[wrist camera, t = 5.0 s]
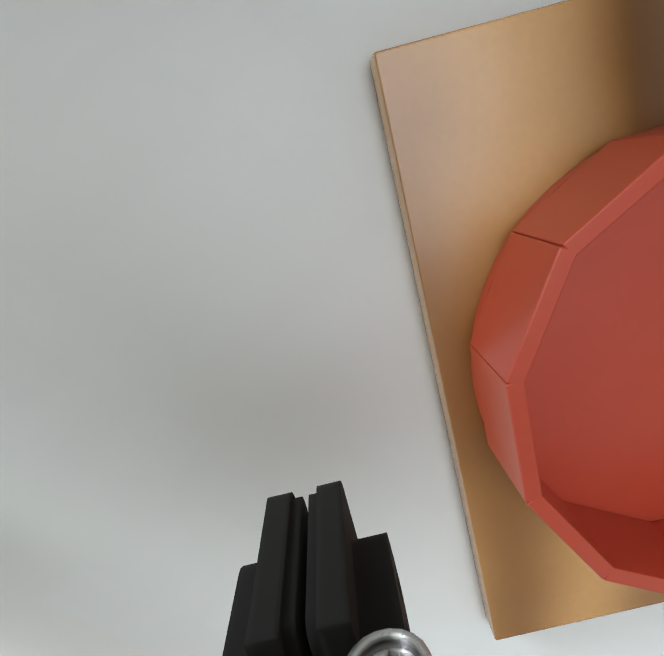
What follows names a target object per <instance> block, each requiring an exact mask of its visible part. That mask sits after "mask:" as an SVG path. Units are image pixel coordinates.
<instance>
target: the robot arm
mask: <svg viewBox="0 0 664 656" xmlns="http://www.w3.org/2000/svg"><path fill="white" fill-rule="evenodd" d="M222 656H431V653H430V651H429V649H428V648H427V646H426V645H425V643H424V642H423V640H422V639H420V638H419V637H418V636H416V635H415V634H414V633H411V632H410V628H409V623H408V618H407V614H406V609H405V604H404V599H403V595H402V590H401V586H400V582H399V577H398V573H397V569H396V565H395V561H394V557H393V554H392V550H391V546H390V542H389V539H388V535H387V533H383V534H378V535H374V536H370V537H366V538H361V539H357V535H356V532H355V528H354V524H353V521H352V517H351V514H350V510H349V506H348V503H347V499H346V496H345V492H344V489H343V485H342V483H341V481H337V482H333V483H329V484H324V485H320V486H317V493H315V494H311V495H309V507H308V511H307V507H306V504H305V501H304V499H303V497H298V498H295V496H294V494H293V493H292V492H291V493H287V494H282V495H278V496H274V497H270V498H268V499H267V504H266V511H265V517H264V523H263V529H262V536H261V542H260V548H259V555H258V561H257V563H254V564H250V565H246V566H243V567H242V568H241V569H240V572H239V576H238V581H237V586H236V591H235V596H234V601H233V606H232V611H231V616H230V621H229V626H228V631H227V636H226V641H225V646H224V651H223V655H222Z"/></svg>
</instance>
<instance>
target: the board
mask: <svg viewBox="0 0 664 656" xmlns="http://www.w3.org/2000/svg"><path fill="white" fill-rule="evenodd" d="M370 65H371V70H372V75H373V79H374V84H375V89H376V94H377V98H378V103H379V108H380V113H381V117H382V122H383V127H384V132H385V137H386V141H387V146H388V151H389V156H390V160H391V165H392V170H393V175H394V179H395V184H396V189H397V194H398V198H399V203H400V208H401V213H402V217H403V222H404V227H405V232H406V237H407V241H408V246H409V251H410V256H411V260H412V265H413V270H414V275H415V279H416V284H417V289H418V294H419V298H420V303H421V308H422V313H423V317H424V322H425V327H426V332H427V336H428V341H429V346H430V351H431V356H432V360H433V365H434V370H435V375H436V379H437V384H438V389H439V394H440V398H441V403H442V408H443V413H444V417H445V422H446V427H447V432H448V436H449V441H450V446H451V451H452V456H453V460H454V465H455V470H456V475H457V479H458V484H459V489H460V494H461V498H462V503H463V508H464V513H465V517H466V522H467V527H468V532H469V536H470V541H471V546H472V551H473V555H474V560H475V565H476V570H477V575H478V579H479V584H480V589H481V594H482V598H483V603H484V608H485V613H486V617H487V620H488V622H489V625H490V628H491V630H492V633H493V635H494V638H495V639H496V640H499V639H504V638H508V637H513V636H517V635H521V634H526V633H530V632H534V631H539V630H543V629H548V628H552V627H556V626H561V625H565V624H569V623H574V622H578V621H582V620H587V619H591V618H596V617H600V616H604V615H609V614H613V613H617V612H622V611H626V610H631V609H635V608H639V607H644V606H648V605H652V604H657V603H661V602H664V594H663V593H658V592H654V591H649V590H645V589H640V588H636V587H631V586H627V585H622V584H618V583H613V582H609V581H606V580H604V579H602V578H600V577H599V576H598V575H597V574H596V573H595V572H594V571H593V570H592V569H591V568H590V567H589V566H588V565H587V564H586V563H585V562H584V561H583V560H582V559H581V558H580V557H579V556H578V555H577V554H576V553H575V552H574V551H573V550H572V549H571V548H570V547H569V546H568V545H567V544H566V543H565V542H564V541H563V540H562V539H561V538H560V537H559V536H558V535H557V534H556V533H555V532H554V531H553V530H552V529H551V528H550V527H549V526H548V525H547V524H546V523H545V522H544V521H543V520H542V519H541V518H540V517H539V516H538V515H537V514H536V513H535V512H534V511H533V510H532V509H531V508H530V507H529V506H528V505H527V504H526V502H525V501H524V499H523V498H522V496H521V495H520V493H519V492H518V490H517V489H516V487H515V485H514V484H513V482H512V481H511V479H510V478H509V476H508V475H507V473H506V472H505V470H504V469H503V467H502V465H501V464H500V462H499V461H498V459H497V458H496V456H495V455H494V453H493V452H492V450H491V448H490V446H489V445H488V442H487V436H486V431H485V426H484V421H483V419H482V416H481V414H480V411H479V407H478V404H477V400H476V396H475V392H474V387H473V378H472V370H471V351H470V345H471V344H470V341H471V339H472V333H473V327H474V321H475V314H476V310H477V307H478V303H479V300H480V297H481V293H482V290H483V286H484V284H485V282H486V279H487V277H488V275H489V272H490V270H491V268H492V266H493V263H494V261H495V259H496V257H497V255H498V254H499V252H500V250H501V249H502V247H503V245H504V244H505V242H506V240H507V238H508V237H509V235H510V233H511V232H512V231H513V229H514V228H515V227H516V225H517V224H518V223H519V222H520V220H521V219H522V218H523V216H524V215H525V214H526V212H527V211H528V210H529V208H530V207H531V206H532V205H533V204H534V203H535V202H536V201H537V200H538V199H539V198H540V197H541V196H542V195H543V194H544V193H545V192H546V191H547V190H548V189H549V188H550V187H551V186H552V185H553V184H554V183H556V182H557V181H558V180H559V179H560V178H562V177H563V176H564V175H565V174H567V173H568V172H569V171H570V170H571V169H573V168H574V167H575V166H576V165H578V164H580V163H581V162H583V161H584V160H586V159H587V158H589V157H591V156H592V155H594V154H595V153H597V152H598V151H599V150H601V149H602V148H603V147H604V146H605V145H606V144H607V143H608V142H610V141H612V140H613V139H616V138H620V137H624V136H627V135H631V134H635V133H639V132H642V131H645V130H648V129H651V128H654V127H657V126H660V125H664V0H567V1H563V2H560V3H556V4H552V5H548V6H545V7H541V8H537V9H534V10H530V11H526V12H522V13H519V14H515V15H511V16H508V17H504V18H500V19H496V20H493V21H489V22H485V23H482V24H478V25H474V26H471V27H467V28H463V29H459V30H456V31H452V32H448V33H445V34H441V35H437V36H433V37H430V38H426V39H422V40H419V41H415V42H411V43H407V44H404V45H400V46H396V47H393V48H389V49H385V50H381V51H378V52H375V53H374V54H373V56H372V58H371V60H370Z"/></svg>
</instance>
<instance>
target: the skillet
mask: <svg viewBox="0 0 664 656" xmlns="http://www.w3.org/2000/svg"><path fill="white" fill-rule="evenodd" d="M470 344H471V345H470V351H471V370H472V378H473V387H474V392H475V396H476V400H477V404H478V407H479V411H480V414H481V416H482V419H483V421H484V426H485V431H486V436H487V442H488V445H489V446H490V448H491V450H492V452H493V453H494V455H495V456H496V458H497V459H498V461H499V462H500V464H501V465H502V467H503V469H504V470H505V472H506V473H507V475H508V476H509V478H510V479H511V481H512V482H513V484H514V485H515V487H516V489H517V490H518V492H519V493H520V495H521V496H522V498H523V499H524V501H525V502H526V504H527V505H528V506H529V507H530V508H531V509H532V510H533V511H534V512H535V513H536V514H537V515H538V516H539V517H540V518H541V519H542V520H543V521H544V522H545V523H546V524H547V525H548V526H549V527H550V528H551V529H552V530H553V531H554V532H555V533H556V534H557V535H558V536H559V537H560V538H561V539H562V540H563V541H564V542H565V543H566V544H567V545H568V546H569V547H570V548H571V549H572V550H573V551H574V552H575V553H576V554H577V555H578V556H579V557H580V558H581V559H582V560H583V561H584V562H585V563H586V564H587V565H588V566H589V567H590V568H591V569H592V570H593V571H594V572H595V573H596V574H597V575H598V576H599V577H600V578H602V579H604V580H606V581H609V582H613V583H618V584H622V585H627V586H631V587H636V588H640V589H645V590H649V591H654V592H658V593H663V594H664V125H660V126H657V127H654V128H651V129H648V130H645V131H642V132H639V133H635V134H631V135H627V136H624V137H620V138H616V139H613V140H612V141H610V142H608V143H607V144H606V145H605V146H604V147H603V148H602V149H601V150H599V151H598V152H597V153H595V154H594V155H592V156H591V157H589V158H587V159H586V160H584V161H583V162H581V163H580V164H578V165H576V166H575V167H574V168H573V169H571V170H570V171H569V172H568V173H567V174H565V175H564V176H563V177H562V178H560V179H559V180H558V181H557V182H556V183H554V184H553V185H552V186H551V187H550V188H549V189H548V190H547V191H546V192H545V193H544V194H543V195H542V196H541V197H540V198H539V199H538V200H537V201H536V202H535V203H534V204H533V205H532V206H531V207H530V208H529V210H528V211H527V212H526V214H525V215H524V216H523V218H522V219H521V220H520V222H519V223H518V224H517V225H516V227H515V228H514V229H513V231H512V232H511V233H510V235H509V237H508V238H507V240H506V242H505V244H504V245H503V247H502V249H501V250H500V252H499V254H498V255H497V257H496V259H495V261H494V263H493V266H492V268H491V270H490V272H489V275H488V277H487V279H486V282H485V284H484V286H483V290H482V293H481V297H480V300H479V303H478V307H477V310H476V314H475V321H474V327H473V333H472V339H471V341H470Z"/></svg>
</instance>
